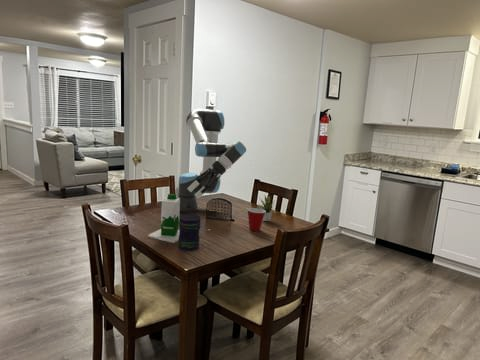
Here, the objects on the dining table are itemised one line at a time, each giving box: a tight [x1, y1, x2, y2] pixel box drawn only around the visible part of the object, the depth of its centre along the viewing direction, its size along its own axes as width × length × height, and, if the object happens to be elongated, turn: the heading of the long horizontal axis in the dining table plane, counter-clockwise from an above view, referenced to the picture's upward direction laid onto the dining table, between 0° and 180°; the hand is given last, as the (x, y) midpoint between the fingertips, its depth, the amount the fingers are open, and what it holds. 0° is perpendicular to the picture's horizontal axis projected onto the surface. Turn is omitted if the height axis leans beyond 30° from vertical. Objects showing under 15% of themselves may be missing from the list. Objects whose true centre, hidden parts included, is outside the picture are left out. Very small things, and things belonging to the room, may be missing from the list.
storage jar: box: [177, 213, 202, 252], centre depth 164 cm, size 10×10×15 cm
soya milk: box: [160, 193, 181, 236], centre depth 177 cm, size 9×9×20 cm
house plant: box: [256, 194, 276, 221], centre depth 217 cm, size 14×14×16 cm
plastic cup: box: [246, 207, 266, 232], centre depth 197 cm, size 11×11×12 cm
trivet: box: [147, 228, 180, 244], centre depth 179 cm, size 15×15×1 cm
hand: (192, 193), depth 180 cm, fingers open, 13 cm apart
